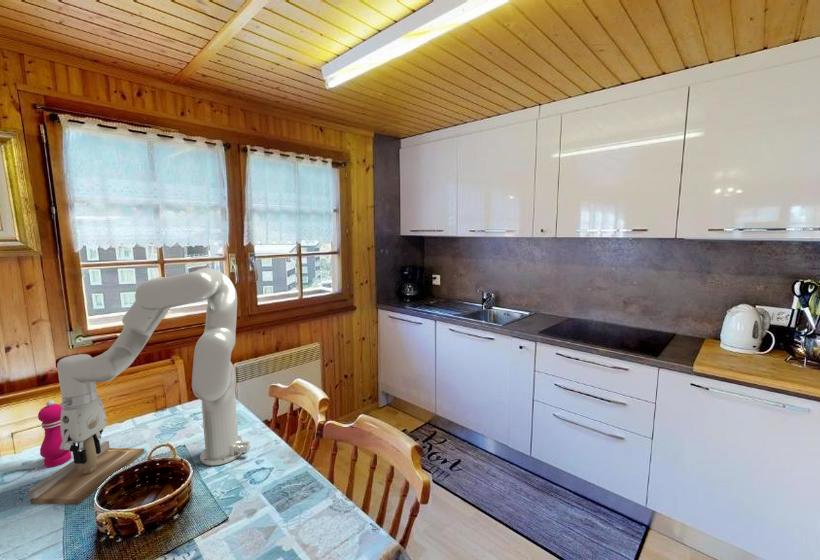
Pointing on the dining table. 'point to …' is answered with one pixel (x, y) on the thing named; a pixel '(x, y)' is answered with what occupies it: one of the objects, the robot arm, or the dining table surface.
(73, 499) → the board
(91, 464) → the handle
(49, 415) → the pepper mill
